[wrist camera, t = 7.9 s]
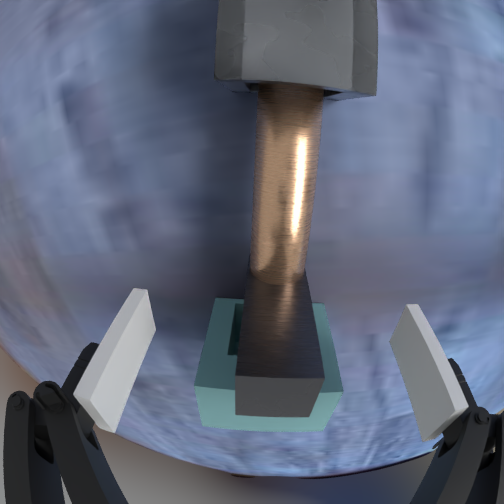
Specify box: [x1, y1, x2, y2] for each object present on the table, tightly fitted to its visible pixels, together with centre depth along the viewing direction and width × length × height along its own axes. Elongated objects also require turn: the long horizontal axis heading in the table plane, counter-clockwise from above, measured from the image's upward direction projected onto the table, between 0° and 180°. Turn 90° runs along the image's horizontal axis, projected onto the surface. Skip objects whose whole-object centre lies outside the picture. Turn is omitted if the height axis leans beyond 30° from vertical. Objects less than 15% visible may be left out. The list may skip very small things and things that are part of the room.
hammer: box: [235, 83, 325, 417], centre depth 12 cm, size 20×3×9 cm, turn 178°
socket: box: [194, 297, 343, 432], centre depth 18 cm, size 5×8×8 cm, turn 88°
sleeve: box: [214, 0, 378, 101], centre depth 9 cm, size 9×6×6 cm, turn 178°
